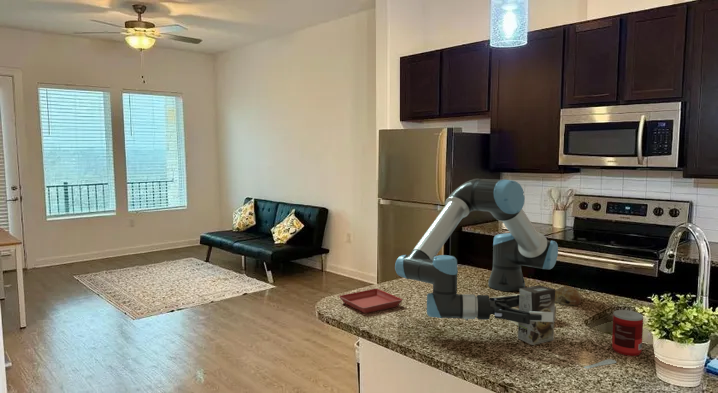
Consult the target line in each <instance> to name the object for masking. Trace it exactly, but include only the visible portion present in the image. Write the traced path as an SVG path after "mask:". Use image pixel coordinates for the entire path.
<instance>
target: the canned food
mask: <svg viewBox="0 0 718 393" xmlns="http://www.w3.org/2000/svg"><path fill="white" fill-rule="evenodd" d="M643 332H644V315H643V314H641V313H639V312H637V311H633V310H629V309H628V310H627V309H618V310H614V311H613V313H612V332H611V333H612V334H611V336H612V338H611V347H612V350H613V351H614V352H615V353H617V354H619V355H623V356H629V357H636V356H639V355H641V354H642V350H643V348H642V346H643Z"/></svg>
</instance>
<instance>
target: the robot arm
mask: <svg viewBox="0 0 718 393" xmlns="http://www.w3.org/2000/svg"><path fill="white" fill-rule="evenodd" d="M524 193H525V192H524V189H523V186H522V185H521V184H520V183H519V182H517V181H516V180H511V179H507V178H505V179H489V178H487V179H486V178H473V179H470V180H468V181H465V182H464V183H462V184H460V185H459V186H458V187H457V188H455V189H454V190H453V191H452V192H451V193H450V194H449V195H448V197H447V198H446V200H445V203H444V207H443V208H442V210H441V211H440V212H439V213H438V215H437V216H436V218H435V219H434V221H433V222H432V223H431V224H430V226H429V227H428V229H427V230H426V231H425V232H424V234H423V235H422V236H421V238H420V239H419V241H418V242H417V243H416V245H415V246H414V248H413V249H412V250H411V252H410V253H409V254H402V255H400V256H398V258H397V259H396V260H395V264H394V270H395V272H396V275H397V276H399V277H401V278H404V279H407V280H413V281H417V282H421V283H425V284H430V285H432V292H428V293H427V294H426V315H427V316H428V317H429V318H438V319H460V320H461V319H465V321H469V320H479V321H480V320H485V321H488V320H490V318H491V315H494V319H497V320H505V321H508V320H510V321H515V322H520V323H526V324H530V321H541V322H553V312H535V311H529V312H525V311H521V310H517V309H513V308H512V307H516V306H519V295H517V296H516V294H514V295H515V296H507V295H506V296H507V297H498V296H497V297H498V298H492V297H493V296H491V298H490V296H489V295H488V294H477V295H475V294H468V293H467V294H464V293H463V294H462V293H461V294H460V293H458V273H459V272H458V271H459V270H458V259H457V258H456V257H455V256H454V255H447V254H439V252H440V251H441V249H442V248H443V246H444V245H445V243H447V241H448V239H449V238H450V236H451V235H452V234H453V232H454V231H455V229H456V228H457V226H458V225H459V223H460V222H461V221H462V219H464V218H466V217H468V216H469V214H470V213H471V212H475V211H479V212H488V213H490V214H491V216H492V217H493V218H494V219H496V220H497V221H500V222H501V223H503V225H504V226H505V227H506V229H507V231H508V233H507V232H505V233H499V234H496V235H494V237H493V243H492V247H493V248H492V250H493V251H492V269H491V273H490V276H489V279H488V287H489V288H491V289H494V290H497V291H503V292H520V288H526V281H525V278H524V275H523V272H522V266H524V267H530V268H536V269H542V270H551V269H553V268H554V267H555V265H556V263H557V260H558V257H559V256H558V255H559V245H558V243H557V241H555V240H549V239H547V238H546V236H545V235H544V234H543V233H541V232H538V231H537V230H536V228H535V226H534V225H533V223H532V222H531V220H530V218H529V217H528V216H527V214H526V213H525V211H524V209H523V208H524V205H525V201H526V200H525V198H526V197H525V195H524ZM438 254H439V255H438ZM476 318H477V319H476ZM510 321H509V322H510Z"/></svg>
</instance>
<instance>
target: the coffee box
mask: <svg viewBox="0 0 718 393" xmlns="http://www.w3.org/2000/svg"><path fill="white" fill-rule="evenodd" d="M555 290H556V289H555V288H552V287H547V286H544V285H540V284H539V285H533V286H527V287H526V286H525V288H520V291H519V310H521V311H525V312H529V311H535V312H553V322H541V321H530V324H526V323H520V322H518V325H517V339H518V340H520V341H522V342H525V343H527V344H529V345H532V346H536V345H540V344H542V343H547V342H551V341H554V339H555V338H554V337H555V334H554V333H555V332H554V331H555V321H554V310H555V306H556V305H555V304H556V301H555Z"/></svg>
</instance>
